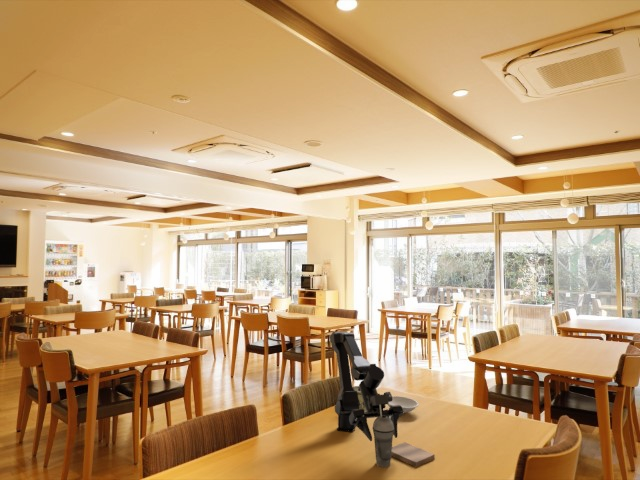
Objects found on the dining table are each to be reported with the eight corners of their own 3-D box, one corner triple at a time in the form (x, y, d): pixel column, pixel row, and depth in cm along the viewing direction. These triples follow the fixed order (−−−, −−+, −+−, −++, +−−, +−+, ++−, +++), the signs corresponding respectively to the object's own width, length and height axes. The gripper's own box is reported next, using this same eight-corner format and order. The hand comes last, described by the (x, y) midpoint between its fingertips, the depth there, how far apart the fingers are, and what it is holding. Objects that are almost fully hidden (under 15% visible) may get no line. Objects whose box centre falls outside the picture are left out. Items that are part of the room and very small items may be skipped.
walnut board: (386, 453, 151) (386, 449, 151) (404, 446, 157) (404, 442, 157) (416, 467, 141) (416, 462, 141) (434, 458, 147) (434, 454, 147)
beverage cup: (394, 470, 139) (394, 406, 140) (371, 467, 140) (371, 405, 141) (394, 460, 146) (394, 400, 147) (373, 458, 147) (373, 398, 148)
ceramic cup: (356, 416, 189) (356, 393, 190) (345, 409, 198) (345, 387, 199) (380, 411, 195) (381, 389, 196) (368, 405, 204) (368, 384, 205)
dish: (426, 417, 189) (426, 405, 189) (398, 421, 183) (398, 409, 184) (403, 405, 205) (403, 394, 206) (377, 408, 200) (377, 397, 200)
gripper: (352, 385, 146) (365, 430, 135) (401, 381, 152) (417, 424, 141) (343, 402, 153) (355, 446, 142) (390, 398, 159) (405, 440, 148)
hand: (384, 438), depth 143 cm, fingers open, 9 cm apart
